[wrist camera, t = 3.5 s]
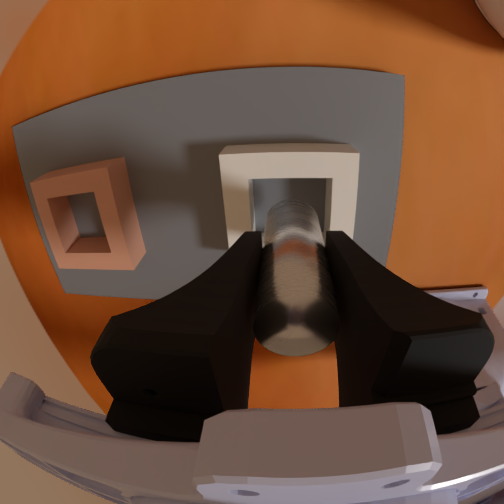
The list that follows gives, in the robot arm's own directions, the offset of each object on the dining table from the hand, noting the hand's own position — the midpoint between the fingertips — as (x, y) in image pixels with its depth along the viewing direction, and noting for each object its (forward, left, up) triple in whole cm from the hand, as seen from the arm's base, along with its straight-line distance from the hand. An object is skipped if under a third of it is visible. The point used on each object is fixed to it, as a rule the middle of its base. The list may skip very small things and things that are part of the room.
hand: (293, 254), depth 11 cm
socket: (+12, 0, -5) cm, 13 cm away
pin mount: (0, 0, -5) cm, 5 cm away
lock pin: (0, 0, -3) cm, 3 cm away
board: (+6, 0, -6) cm, 9 cm away
